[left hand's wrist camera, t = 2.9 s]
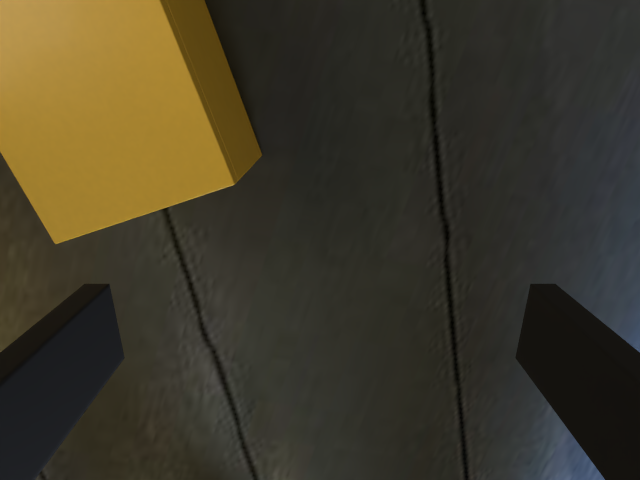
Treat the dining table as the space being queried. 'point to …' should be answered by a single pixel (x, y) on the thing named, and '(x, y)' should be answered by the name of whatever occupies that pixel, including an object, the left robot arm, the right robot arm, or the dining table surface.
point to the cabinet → (117, 109)
